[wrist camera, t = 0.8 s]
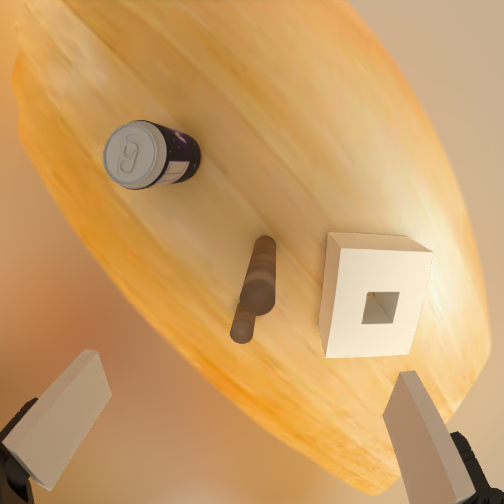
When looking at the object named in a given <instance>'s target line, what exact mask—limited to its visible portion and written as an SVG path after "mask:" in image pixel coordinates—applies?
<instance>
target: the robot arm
mask: <svg viewBox="0 0 504 504" xmlns="http://www.w3.org/2000/svg"><path fill="white" fill-rule="evenodd" d="M111 396H112V393H111V390H110V387H109V384H108V382H107V379H106V376H105V373H104V369H103V366H102V363H101V360H100V356H99V353H98V352H97V351H92V350H89V349H85V350H84V351H83V352H82V353H81V354H80V355H79V356H78V357H77V358H76V359H75V360H74V361H73V362H72V363H71V364H70V365H69V366H68V368H67V369H66V370H65V371H64V372H63V373H62V374H61V375H60V376H59V377H58V378H57V379H56V380H55V382H54V383H53V384H52V385H51V386H50V387H49V388H48V389H47V390H46V391H45V393H44V394H43V395H42V396H41V397H40V398H39V399H38V398H34V399H32V400H30V401H29V402H27V403H26V404H25V405H24V406H23V407H22V408H21V410H20V412H18V413H17V414H16V415H15V417H13V418H12V419H11V421H10V422H9V423H8V424H7V425H6V426H5V428H4V429H3V430H2V431H1V432H0V504H34V499H33V494H32V489H31V484H30V482H29V480H28V478H29V477H30V476H31V477H32V478H33V480H34V481H35V482H36V483H37V484H39V485H41V486H42V487H44V488H46V489H47V490H49V491H51V490H52V489H53V487H54V485H55V484H56V482H57V480H58V479H59V477H60V475H61V474H62V472H63V471H64V469H65V467H66V466H67V464H68V462H69V461H70V459H71V458H72V456H73V455H74V453H75V451H76V450H77V448H78V447H79V445H80V443H81V442H82V440H83V439H84V437H85V436H86V434H87V433H88V431H89V430H90V428H91V426H92V425H93V423H94V422H95V420H96V419H97V417H98V416H99V414H100V413H101V411H102V410H103V408H104V407H105V405H106V404H107V402H108V401H109V399H110V398H111ZM383 418H384V421H385V424H386V427H387V430H388V433H389V436H390V439H391V442H392V445H393V448H394V451H395V454H396V458H397V461H398V464H399V467H400V471H401V474H402V477H403V481H404V484H405V488H406V491H407V494H408V498H409V502H410V504H504V492H502V491H501V490H499V489H497V488H491V487H490V485H489V484H488V482H487V480H486V478H485V475H484V473H483V471H482V469H481V467H480V465H479V463H478V461H477V459H476V458H475V455H474V453H473V451H471V447H470V445H469V443H468V441H467V439H466V438H465V437H464V436H462V435H461V434H460V433H459V432H458V431H457V432H454V433H450V434H449V432H448V430H447V428H446V426H445V424H444V422H443V420H442V418H441V416H440V414H439V413H438V411H437V409H436V407H435V405H434V403H433V401H432V400H431V398H430V396H429V394H428V392H427V391H426V389H425V387H424V385H423V383H422V382H421V380H420V378H419V377H418V375H417V373H416V371H406V372H400V373H399V376H398V379H397V381H396V384H395V387H394V389H393V392H392V394H391V397H390V399H389V402H388V404H387V406H386V409H385V411H384V413H383Z"/></svg>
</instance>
